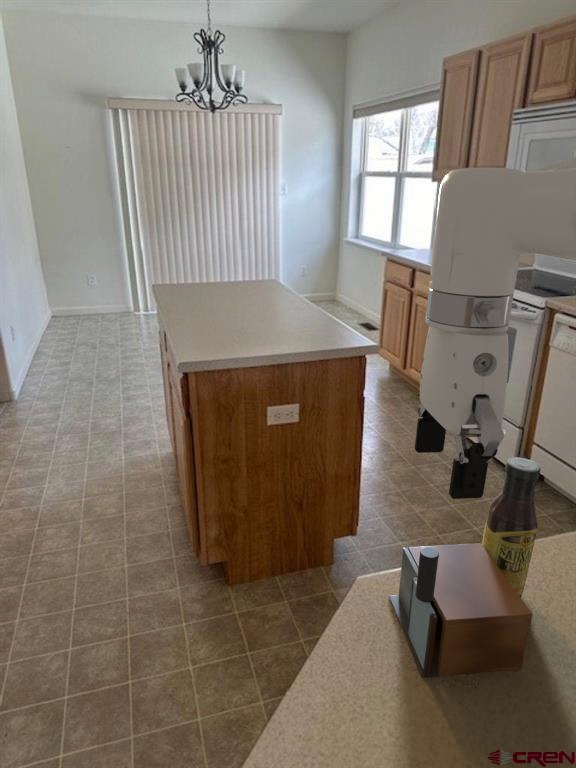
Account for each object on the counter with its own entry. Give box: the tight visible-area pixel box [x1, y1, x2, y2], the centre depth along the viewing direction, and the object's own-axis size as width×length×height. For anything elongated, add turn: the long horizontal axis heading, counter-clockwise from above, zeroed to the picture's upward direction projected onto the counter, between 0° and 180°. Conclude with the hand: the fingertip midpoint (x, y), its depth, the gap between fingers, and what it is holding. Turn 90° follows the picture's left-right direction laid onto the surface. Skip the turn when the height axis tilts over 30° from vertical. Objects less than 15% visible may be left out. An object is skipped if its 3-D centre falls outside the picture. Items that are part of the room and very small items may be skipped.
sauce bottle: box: [481, 457, 541, 598], centre depth 71 cm, size 6×6×20 cm
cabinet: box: [388, 542, 533, 679], centre depth 66 cm, size 12×13×8 cm
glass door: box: [407, 547, 439, 675], centre depth 61 cm, size 2×6×14 cm, turn 6°
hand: (445, 472), depth 56 cm, fingers open, 9 cm apart
